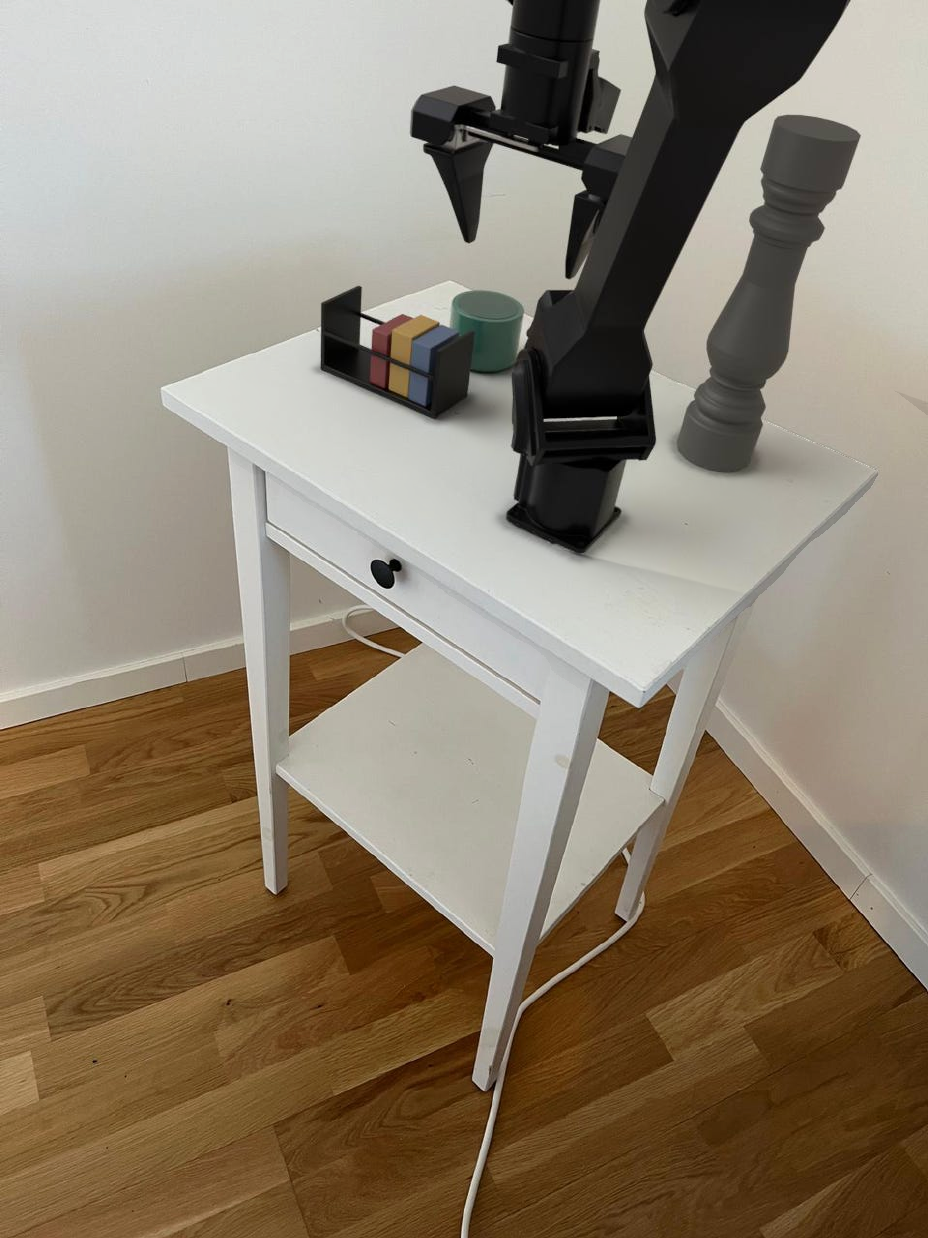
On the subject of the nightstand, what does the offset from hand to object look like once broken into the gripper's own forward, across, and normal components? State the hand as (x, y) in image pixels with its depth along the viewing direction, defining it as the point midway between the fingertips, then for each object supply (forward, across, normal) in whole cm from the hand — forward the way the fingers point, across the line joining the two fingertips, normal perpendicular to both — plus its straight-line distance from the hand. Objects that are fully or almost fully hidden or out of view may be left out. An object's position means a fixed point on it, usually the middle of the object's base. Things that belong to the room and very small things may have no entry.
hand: (519, 259), depth 76 cm
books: (+11, +6, +4) cm, 14 cm away
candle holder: (+12, -18, -5) cm, 22 cm away
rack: (+12, +8, +4) cm, 15 cm away
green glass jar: (+12, +5, -5) cm, 14 cm away
